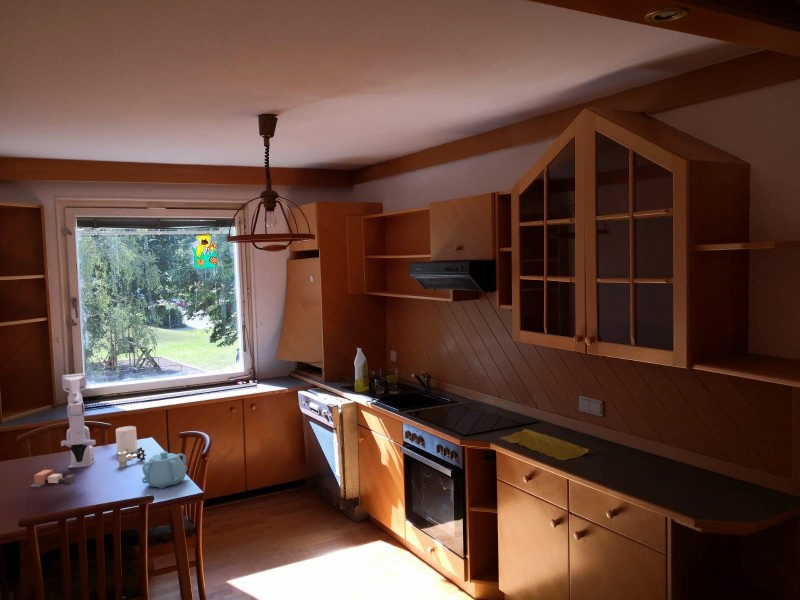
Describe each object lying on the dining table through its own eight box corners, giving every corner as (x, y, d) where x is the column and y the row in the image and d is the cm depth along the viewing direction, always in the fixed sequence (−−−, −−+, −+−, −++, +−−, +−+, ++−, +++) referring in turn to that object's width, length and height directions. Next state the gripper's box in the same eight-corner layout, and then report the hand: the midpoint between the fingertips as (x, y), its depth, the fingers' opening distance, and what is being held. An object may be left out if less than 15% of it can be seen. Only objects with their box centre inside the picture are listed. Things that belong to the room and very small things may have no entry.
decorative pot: (176, 490, 272) (174, 458, 271) (138, 490, 273) (136, 458, 272) (191, 477, 288) (190, 446, 287) (156, 477, 289) (154, 446, 288)
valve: (122, 468, 304) (146, 461, 313) (121, 454, 303) (145, 448, 313) (114, 466, 308) (138, 459, 317) (114, 452, 307) (137, 446, 317)
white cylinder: (133, 447, 338) (131, 425, 338) (142, 452, 330) (140, 429, 329) (114, 452, 332) (112, 429, 331) (123, 456, 323) (121, 433, 322)
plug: (75, 480, 290) (75, 473, 289) (70, 483, 286) (69, 476, 285) (53, 480, 290) (53, 473, 290) (48, 483, 287) (47, 476, 286)
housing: (57, 477, 295) (56, 467, 295) (39, 487, 282) (39, 477, 282) (48, 477, 295) (48, 467, 295) (30, 487, 283) (30, 477, 282)
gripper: (55, 433, 283) (58, 464, 283) (88, 432, 281) (90, 464, 282) (65, 429, 290) (67, 459, 290) (97, 428, 288) (99, 459, 289)
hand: (79, 461), depth 287 cm, fingers closed
